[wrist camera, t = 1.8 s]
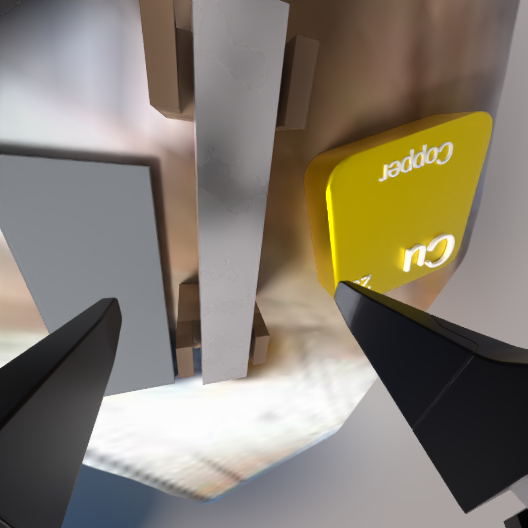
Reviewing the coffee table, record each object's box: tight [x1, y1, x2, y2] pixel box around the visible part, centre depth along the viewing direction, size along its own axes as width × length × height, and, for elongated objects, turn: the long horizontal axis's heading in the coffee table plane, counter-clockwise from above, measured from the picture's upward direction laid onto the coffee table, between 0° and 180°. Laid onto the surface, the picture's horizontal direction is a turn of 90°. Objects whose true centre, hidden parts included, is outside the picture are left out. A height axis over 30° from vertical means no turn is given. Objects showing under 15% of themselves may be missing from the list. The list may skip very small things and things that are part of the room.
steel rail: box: [191, 0, 290, 385], centre depth 13 cm, size 3×20×3 cm, turn 173°
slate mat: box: [0, 153, 175, 396], centre depth 19 cm, size 9×23×1 cm, turn 173°
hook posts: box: [139, 0, 320, 379], centre depth 15 cm, size 6×19×8 cm, turn 173°
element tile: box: [304, 111, 493, 300], centre depth 22 cm, size 15×15×5 cm
